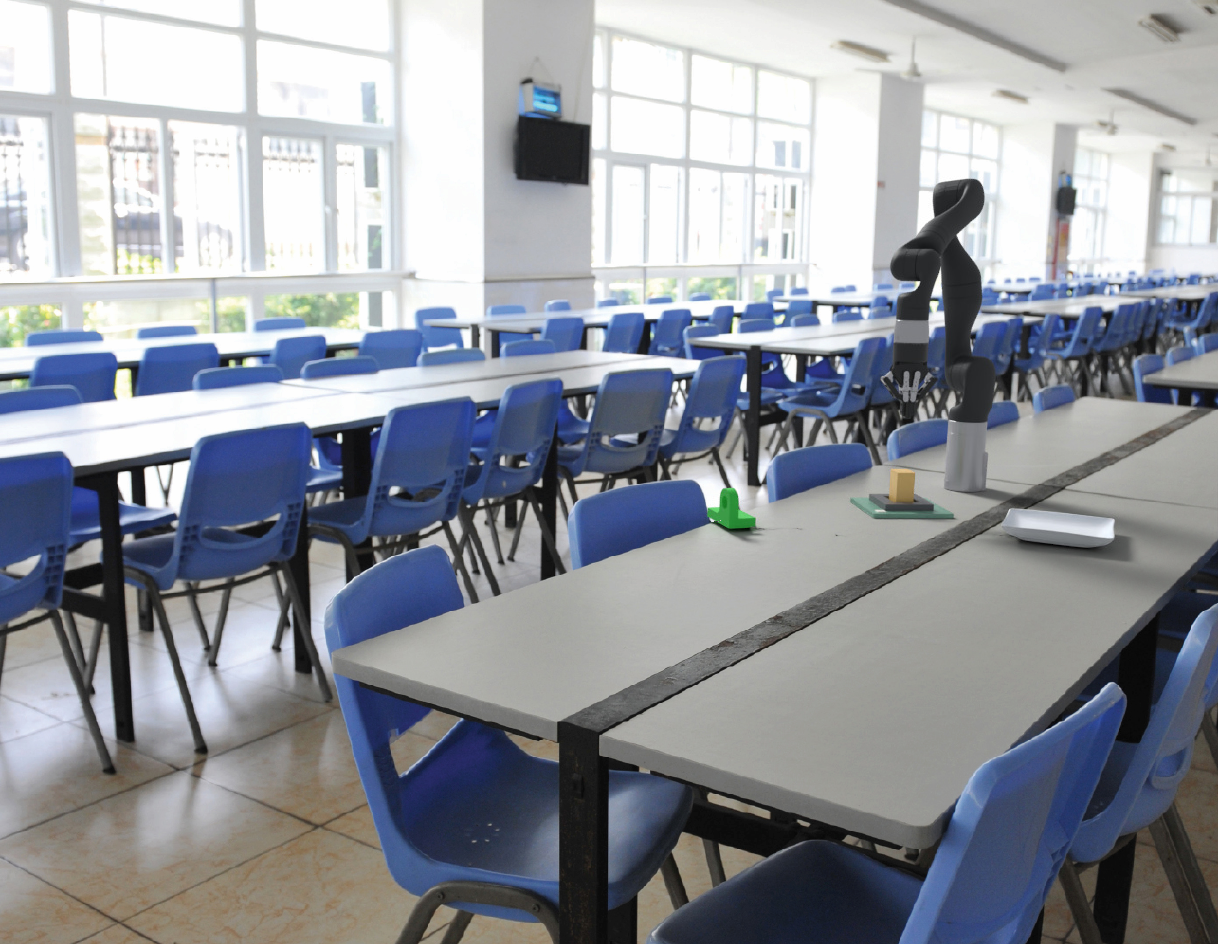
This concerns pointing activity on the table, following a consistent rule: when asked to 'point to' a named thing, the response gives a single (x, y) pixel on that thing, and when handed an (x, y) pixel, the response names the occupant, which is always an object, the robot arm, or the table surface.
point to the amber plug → (901, 485)
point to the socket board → (900, 514)
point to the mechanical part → (730, 511)
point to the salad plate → (1059, 528)
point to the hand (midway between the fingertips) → (906, 418)
